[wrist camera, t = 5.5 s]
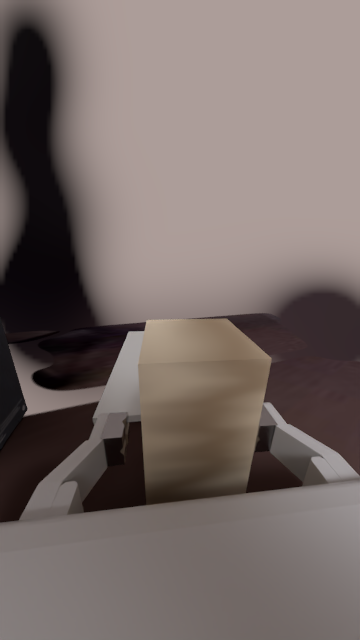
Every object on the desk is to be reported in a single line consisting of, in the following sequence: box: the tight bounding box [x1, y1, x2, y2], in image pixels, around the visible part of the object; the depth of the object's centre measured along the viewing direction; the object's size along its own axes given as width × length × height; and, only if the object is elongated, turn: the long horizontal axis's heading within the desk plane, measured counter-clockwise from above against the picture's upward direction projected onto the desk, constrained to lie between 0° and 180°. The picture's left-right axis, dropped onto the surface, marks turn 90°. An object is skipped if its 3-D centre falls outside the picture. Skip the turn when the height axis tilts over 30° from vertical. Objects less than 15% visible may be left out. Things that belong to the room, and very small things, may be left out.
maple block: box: [138, 319, 271, 505], centre depth 10 cm, size 4×4×12 cm
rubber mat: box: [93, 331, 145, 425], centre depth 29 cm, size 16×22×1 cm
